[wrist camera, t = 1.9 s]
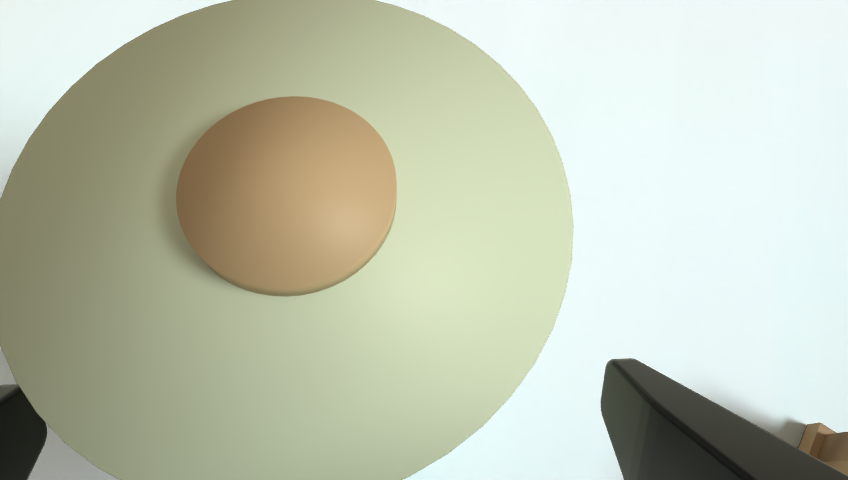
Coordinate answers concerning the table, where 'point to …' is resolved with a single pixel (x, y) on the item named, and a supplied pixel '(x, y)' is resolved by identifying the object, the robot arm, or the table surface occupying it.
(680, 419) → the robot arm
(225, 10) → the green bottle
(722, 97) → the table surface
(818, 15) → the table surface
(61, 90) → the table surface
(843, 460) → the holder
